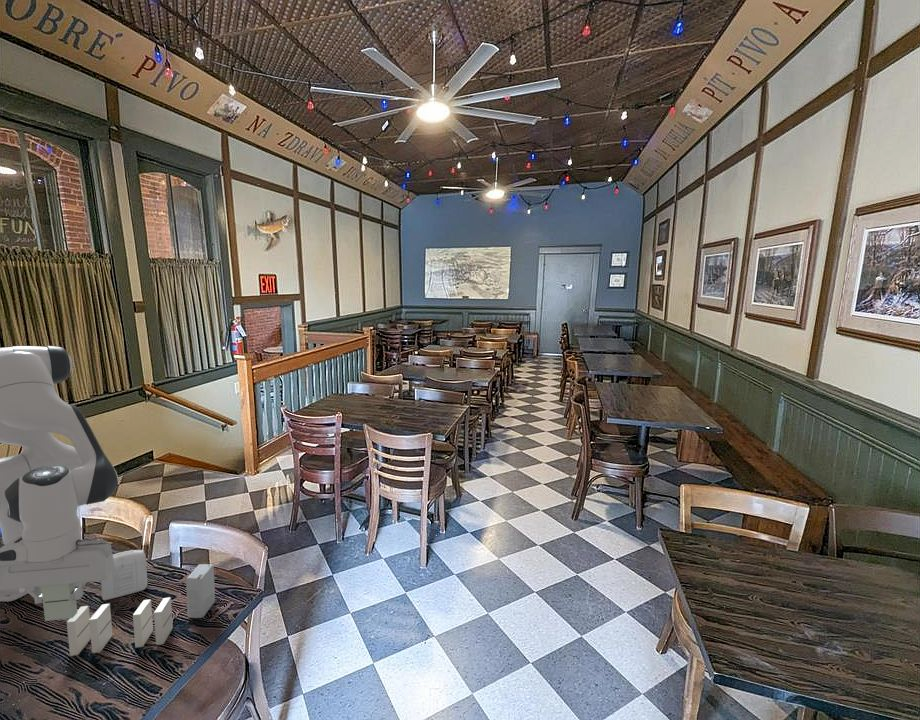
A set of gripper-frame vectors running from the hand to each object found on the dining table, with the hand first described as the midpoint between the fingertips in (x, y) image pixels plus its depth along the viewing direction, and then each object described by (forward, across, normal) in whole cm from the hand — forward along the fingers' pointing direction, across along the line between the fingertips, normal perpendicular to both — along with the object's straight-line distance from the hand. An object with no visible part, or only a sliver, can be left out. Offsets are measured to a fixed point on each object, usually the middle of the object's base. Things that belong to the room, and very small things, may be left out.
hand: (59, 599), depth 89 cm
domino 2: (+19, -3, -8) cm, 21 cm away
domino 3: (+19, -12, -8) cm, 24 cm away
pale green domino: (+4, 0, 0) cm, 4 cm away
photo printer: (+19, +2, -27) cm, 33 cm away
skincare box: (+19, -22, -16) cm, 33 cm away
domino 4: (+19, -16, -8) cm, 26 cm away
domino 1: (+19, +2, -8) cm, 21 cm away
